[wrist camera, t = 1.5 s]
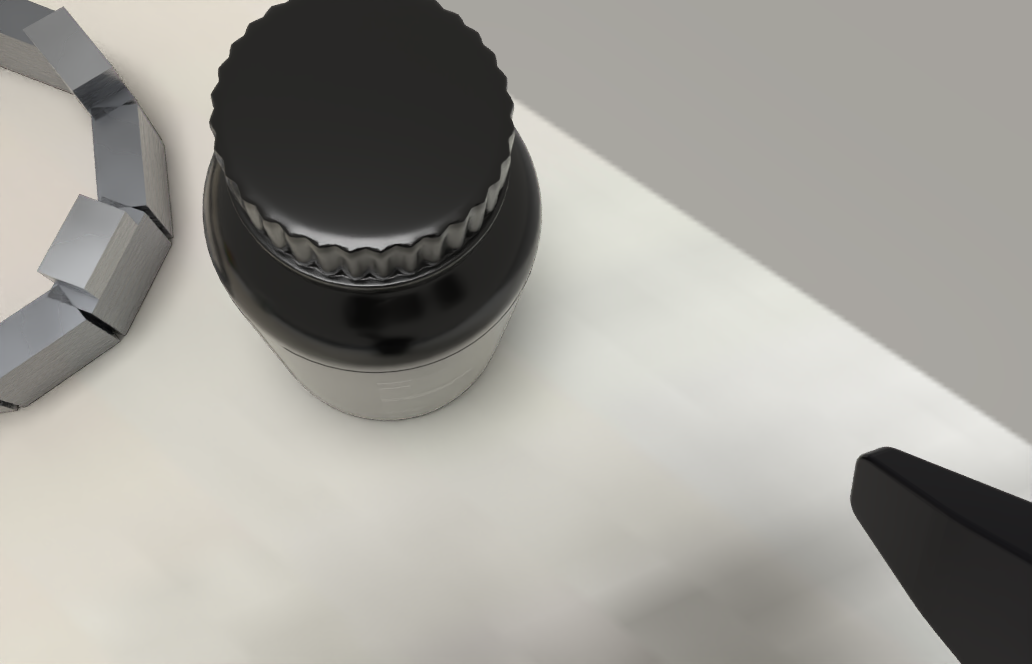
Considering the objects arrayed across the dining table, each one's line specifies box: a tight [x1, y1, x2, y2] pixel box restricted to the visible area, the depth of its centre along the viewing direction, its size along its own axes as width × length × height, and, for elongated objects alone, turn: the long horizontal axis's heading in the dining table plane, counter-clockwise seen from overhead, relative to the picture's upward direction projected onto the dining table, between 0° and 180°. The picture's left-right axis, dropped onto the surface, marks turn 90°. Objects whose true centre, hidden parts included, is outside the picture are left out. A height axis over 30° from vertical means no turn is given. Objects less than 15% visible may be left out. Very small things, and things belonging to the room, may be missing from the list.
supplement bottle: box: [203, 0, 542, 420], centre depth 18 cm, size 7×7×12 cm
